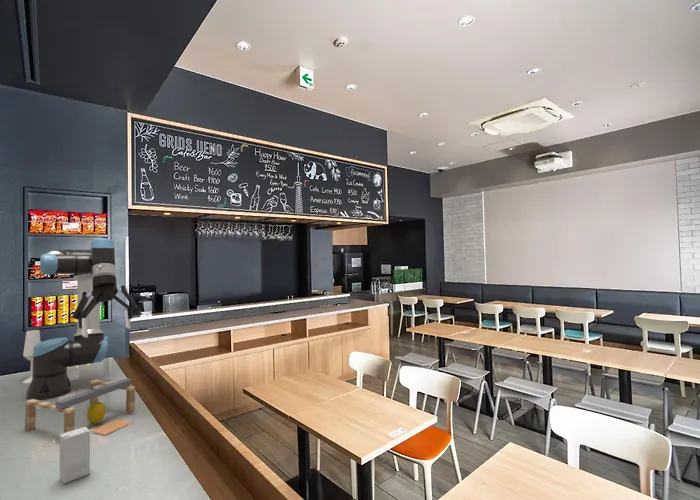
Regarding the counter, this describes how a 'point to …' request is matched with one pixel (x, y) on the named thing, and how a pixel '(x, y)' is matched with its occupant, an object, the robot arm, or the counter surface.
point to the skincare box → (74, 454)
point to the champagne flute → (30, 349)
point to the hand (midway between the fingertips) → (107, 332)
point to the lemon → (96, 412)
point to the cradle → (69, 411)
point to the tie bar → (92, 393)
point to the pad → (111, 427)
